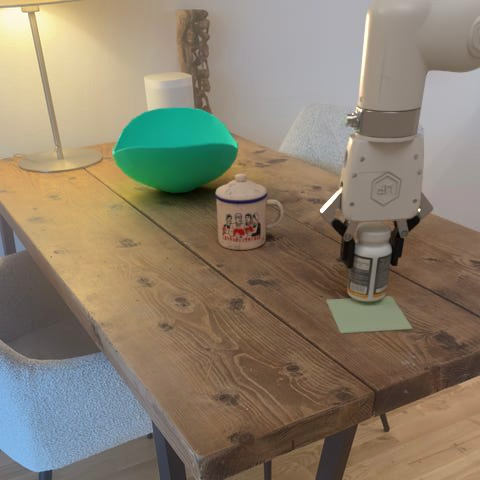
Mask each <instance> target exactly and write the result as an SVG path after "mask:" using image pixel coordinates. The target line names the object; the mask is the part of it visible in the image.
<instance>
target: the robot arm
mask: <svg viewBox="0 0 480 480" xmlns="http://www.w3.org/2000/svg"><path fill="white" fill-rule="evenodd" d="M363 36H364V37H363V45H362V57H361V67H360V79H359V80H360V81H359V89H358V100H357V105H355V110H354V112H351V113H347V114H345V116H344V126H345V128H347V127H351V128H353V130H354V131H355V132H353V133H351V134H350V135H349V138H348V141H347V144H346V145H347V146H346V149H345V154H344V158H343V163H342V167H341V173H340V179H339V186H338V190H337V191H336V192H335V193H334V194H333V195H332V196H331V198H330V199H329V200H327V202H326V203H325V204H324V205H323V206H322V207H321V208H320V209H319V214H320V216H321V218H322V219H323V220H324V221H326V223H328V225H330V226H331V227H332V228H333V230H334V231H335V232H336V233H337V234H338V235H339V236H340V237H341V240H340V241H341V242H340V252H339V259H340V261H341V262H343V264H344V265H345V267H346V269H347V270H349V269H351V268H353V261H354V251H355V241H356V240H355V239H354V235H355V233H356V230H357V227H358V225H360V224H361V223H368V222H377V223H382V222H392V225H393V230H391V237H390V238H389V240H388V242H389V243H390V244H391V247H392V255H391V262H390V266H392V267H398V264H399V259H400V258H402V256H403V250H404V243H405V239H406V238H407V237H409V234H410V232H412V230H414V229H415V228H416V227H417V226H418V225H419V224H420V222H421V221H422V220H424V219H425V218H426V217H427V216H428V215H430V214H431V213H432V212H433V210H434V206H433V204H432V203H431V202H430V201H429V199H428V198H427V197H426V196H425V194H424V193H423V181H424V180H423V179H424V163H425V162H424V161H425V140H424V139H425V138H424V135H423V134H421V133H419V132H418V131H419V123H420V118H421V117H420V116H421V111H422V105H423V99H424V92H425V85H426V80H427V74H428V73H429V72H431V71H436V72H437V71H438V72H449V73H460V74H461V73H469V72H473V71H475V70H478V69H480V0H374V1H373V2H372V3H371V4H370V5H369V7H368V9H367V12H366V17H365V24H364V35H363ZM337 210H339V211H341V214H342V216H343V220H342V221H341V220H340V219H339V217H338V216H336V215H335V212H336V211H337Z"/></svg>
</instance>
